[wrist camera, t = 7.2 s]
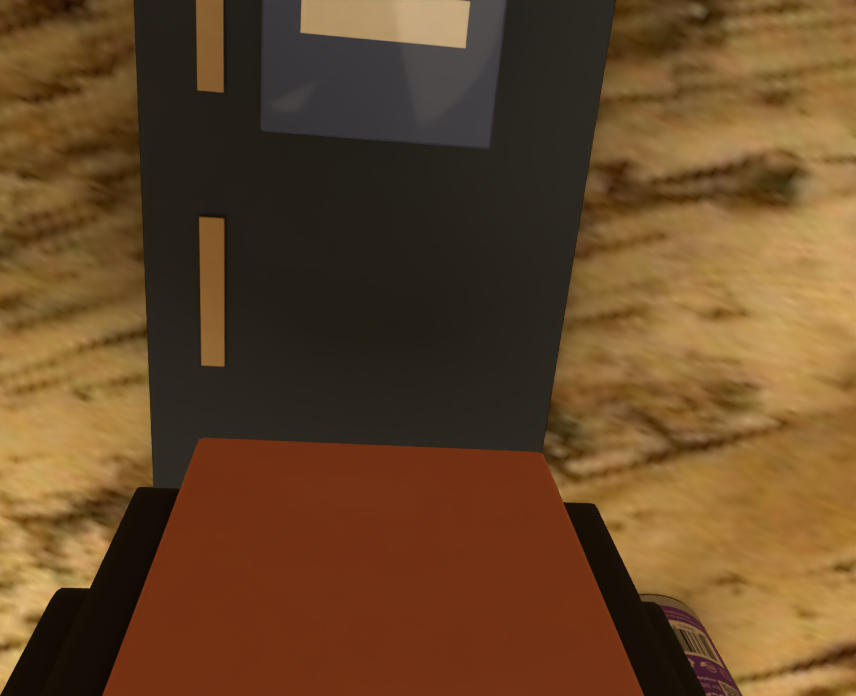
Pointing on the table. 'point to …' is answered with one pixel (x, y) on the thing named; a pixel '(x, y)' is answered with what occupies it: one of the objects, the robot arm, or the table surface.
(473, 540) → the orange cube
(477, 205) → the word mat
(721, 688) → the container
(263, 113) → the striped navy gift box
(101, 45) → the table surface
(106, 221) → the table surface
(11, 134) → the table surface
